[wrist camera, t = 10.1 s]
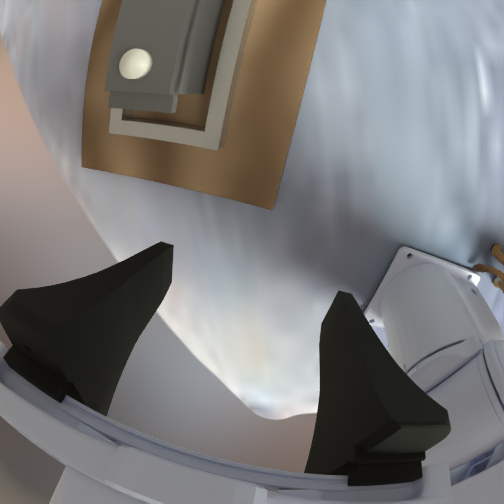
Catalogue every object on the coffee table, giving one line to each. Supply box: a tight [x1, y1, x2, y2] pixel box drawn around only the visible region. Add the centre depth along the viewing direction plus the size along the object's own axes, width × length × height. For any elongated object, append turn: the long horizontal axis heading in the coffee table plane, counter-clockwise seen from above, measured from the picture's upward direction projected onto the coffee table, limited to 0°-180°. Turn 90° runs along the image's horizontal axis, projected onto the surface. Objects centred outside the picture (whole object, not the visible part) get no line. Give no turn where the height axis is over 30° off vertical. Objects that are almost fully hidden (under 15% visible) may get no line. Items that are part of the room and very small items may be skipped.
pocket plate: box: [82, 0, 326, 210], centre depth 14 cm, size 16×20×2 cm
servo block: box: [105, 0, 226, 113], centre depth 11 cm, size 4×9×6 cm, turn 168°
